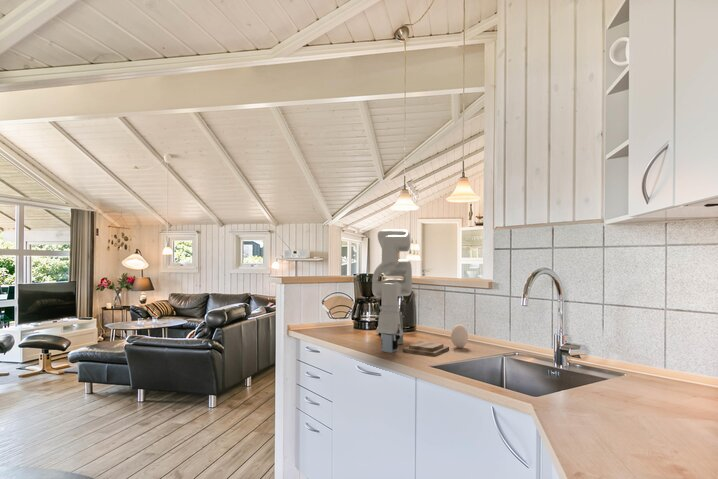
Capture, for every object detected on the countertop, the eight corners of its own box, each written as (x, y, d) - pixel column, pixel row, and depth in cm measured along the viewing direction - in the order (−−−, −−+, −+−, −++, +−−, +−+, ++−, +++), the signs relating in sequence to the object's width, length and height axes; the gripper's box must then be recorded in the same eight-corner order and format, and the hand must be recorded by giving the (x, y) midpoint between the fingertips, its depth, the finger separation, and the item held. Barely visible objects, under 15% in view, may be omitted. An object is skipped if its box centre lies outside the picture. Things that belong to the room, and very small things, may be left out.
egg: (449, 348, 212) (449, 324, 212) (453, 345, 219) (453, 322, 219) (465, 350, 208) (465, 325, 209) (469, 347, 215) (469, 323, 216)
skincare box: (403, 342, 227) (403, 311, 227) (403, 345, 220) (403, 313, 220) (386, 342, 228) (386, 311, 228) (386, 344, 221) (386, 312, 221)
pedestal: (402, 351, 204) (402, 345, 204) (418, 346, 217) (418, 340, 217) (434, 356, 195) (434, 349, 195) (449, 350, 208) (449, 343, 208)
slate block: (382, 351, 205) (382, 334, 205) (387, 349, 209) (387, 332, 210) (391, 352, 202) (391, 335, 203) (396, 350, 206) (396, 333, 207)
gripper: (369, 308, 208) (369, 347, 208) (401, 311, 199) (401, 352, 198) (378, 307, 214) (378, 344, 214) (409, 309, 205) (409, 349, 204)
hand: (389, 347), depth 206 cm, fingers closed on slate block, 5 cm apart
